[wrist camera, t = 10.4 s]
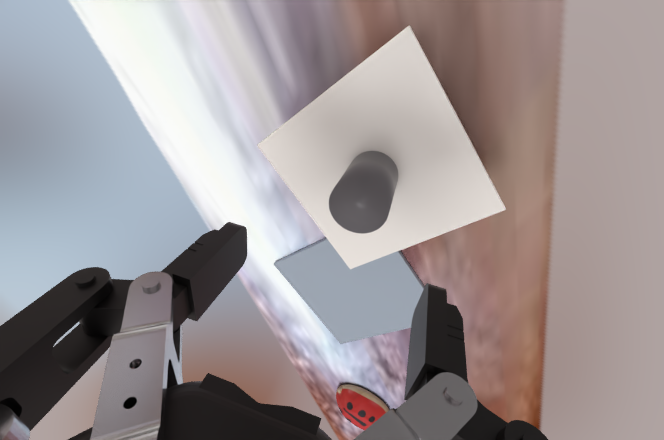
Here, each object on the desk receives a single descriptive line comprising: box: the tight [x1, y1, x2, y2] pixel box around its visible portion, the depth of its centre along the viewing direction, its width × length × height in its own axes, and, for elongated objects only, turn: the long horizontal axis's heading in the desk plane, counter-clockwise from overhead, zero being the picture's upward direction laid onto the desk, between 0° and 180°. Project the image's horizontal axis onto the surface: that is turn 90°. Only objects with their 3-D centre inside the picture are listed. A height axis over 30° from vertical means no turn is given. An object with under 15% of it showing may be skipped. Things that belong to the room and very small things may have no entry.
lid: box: [257, 25, 506, 269], centre depth 20 cm, size 13×13×6 cm
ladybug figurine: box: [336, 384, 389, 430], centre depth 48 cm, size 7×10×4 cm
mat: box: [274, 238, 425, 344], centre depth 37 cm, size 15×15×1 cm
